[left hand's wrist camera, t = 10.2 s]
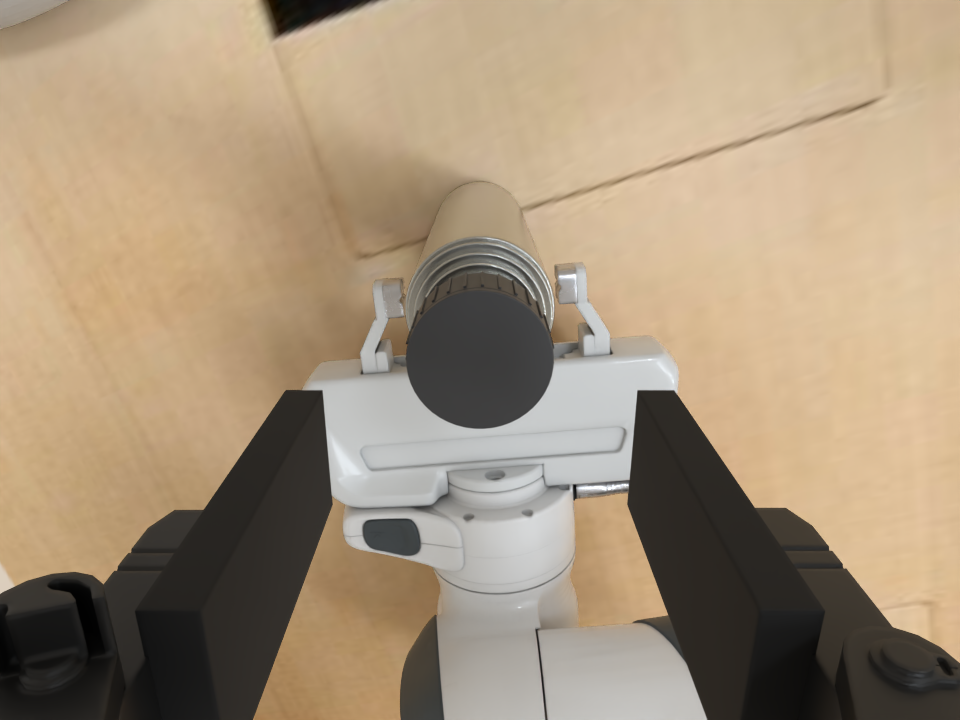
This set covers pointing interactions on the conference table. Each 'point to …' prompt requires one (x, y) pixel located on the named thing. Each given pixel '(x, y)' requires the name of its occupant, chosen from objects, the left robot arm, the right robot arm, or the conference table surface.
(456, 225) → the bottle
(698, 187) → the conference table surface
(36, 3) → the projector
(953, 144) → the conference table surface
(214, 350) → the conference table surface
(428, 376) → the cap
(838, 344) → the conference table surface
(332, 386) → the right robot arm
